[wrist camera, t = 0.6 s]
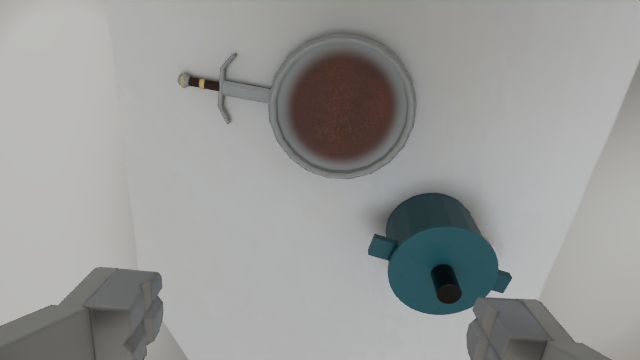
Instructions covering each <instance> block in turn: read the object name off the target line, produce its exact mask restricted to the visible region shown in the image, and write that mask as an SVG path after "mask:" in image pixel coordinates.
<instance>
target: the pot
mask: <svg viewBox="0 0 640 360" xmlns="http://www.w3.org/2000/svg"><path fill="white" fill-rule="evenodd" d="M441 224H450V225H458V226H462V227H466V228H468V229H471V230H473V231H475V232H477V233H478V234H480V235H481V233H480V231H479V229H478V228H477V226H476V224H475V222H474V220H473V218H472V217H471V215H470V213H469V211H468V210H467V209H466V208H465V207H464V206H463V205H462V204H461V203H460V202H459V201H457V200H456V199H454V198H452V197H449V196H446V195H442V194H436V193H428V194H421V195H417V196H414V197H412V198H410V199H408V200H406V201H404V202H403V203H401V204H400V205H399V206H398V207H397V208H396V209H395V210H394V211H393V213H392V214H391V216H390V218H389V220H388V223H387V227H386V237H384V236H380V235H377V234H374V237H373V239H372V242H371V244H370V247H369V249H368V255H371V256H375V257H378V258H382V259H385V260H390V257H391V255H392V253H393V251H394V250H395V248H396V247H397V246H398V244H399V243H400V242H401V241H402V240H404V239H405V238H406V237H407V236H409V235H410V234H412V233H414V232H416V231H418V230H420V229H423V228H425V227H429V226H433V225H441ZM481 236H482V235H481ZM511 279H512V277H511V275H510V273H508V272H504V271H501V270H498V275H497V279H496V282H495V284H494V286H493V288H492V289H491V290H493V291H497V292H500V293H503V292H504V290H505V289H506V287H507V286H508V284H509V282H510V281H511Z"/></svg>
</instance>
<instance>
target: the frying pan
mask: <svg viewBox="0 0 640 360" xmlns="http://www.w3.org/2000/svg"><path fill="white" fill-rule="evenodd" d="M235 57H236V53H235V54H232V55H231V56H230V58H229V59H228V60H227V61H226V62H225V63H224V64H223V65H222V67H221V68H220V80H219V82H214V81H208V80H205V79H198V78H192V77H190V76H189V75H188V74H186V73H184V74H181V75H180V76H179V77H178V83H179V84H180V85H181V86H182V87H183V88H185V87H188V86H194V87H199V88H201V89H210V90H216V91H219V96H218V108H219V110H220V111H221V113H222V115H223V117H224V119H225V121H226V123H227V124H229V123H230V122H231V121H230V119H229V117H228V115H227V113H226V111H225V109H224V107H223V97H224V95H227V96H232V97H238V98H243V99H248V100H254V101H259V102H264V103H269V121H270V124H271V126H272V129H273V132H274V134H275V137H276V139H277V142H278V143H279V144H280V146H281V147H282V148H283V149H284V151H285V152H286V153H287V155H288V156H289V157H290V159H292V160H293V161H295V162H296V163H298V164H299V165H300V166H302V167H303V168H305V169H306V170H307V171H310V172H312V173H315V174H318V175H321V176H324V177H327V178H341V179H351V178H355V177H359V176H363V175H367V174H371V173H373V172H374V171H376V170H378V169H379V168H381V167H383V166H384V165H386V164H388V163H389V162H390V161H391V160H392V159H393V158H394V157H395V156H396V155H397V154H398V152H399V151H400V150H401V149H402V148H403V147H404V146H405V144H406V141H407V139H408V137H409V135H410V133H411V130H412V128H413V126H414V119H415V110H416V98H415V94H414V89H413V84H412V80H411V78H410V76H409V75H408V73H407V71H406V70H405V68H404V66H403V65H402V63H401V61H400V60H399V58H397V57H396V56H395V55H394V54H393V53H391V52H390V51H389V50H388V49H387V48H385V47H384V46H383V45H382V44H380V43H379V42H376V41H373V40H370V39H368V38H365V37H362V36H360V35H357V34H329V35H326V36H323V37H320V38H317V39H314V40H311V41H308V42H306V43H305V44H304V45H302V46H301V47H300V48H298V49H297V50H296V51H294V52H293V53H292V54H290V55H289V56H288V57H287V59H286V60H285V62H284V63H283V64H282V66H281V67H280V69H279V70H278V72H277V73H276V75H275V77H274V80H273V84H272V87H271V89H267V88H261V87H256V86H251V85H245V84H240V83H235V82H229V81H225V68H226V67H227V66H228V64H229V63H230V62H231V61H232V60H233V59H234V58H235Z"/></svg>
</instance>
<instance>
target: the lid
mask: <svg viewBox="0 0 640 360" xmlns="http://www.w3.org/2000/svg"><path fill="white" fill-rule="evenodd" d="M497 275H498V261H497V257H496V254H495V252H494V250H493V248H492V247H491V245H490V244H489V243H488V241H487V240H486V239H485V238H484V237H483V236H481V235H480V234H478V233H477V232H475V231H473V230H471V229H468V228H466V227H462V226H458V225H450V224H441V225H433V226H429V227H425V228H423V229H420V230H418V231H416V232H414V233H412V234H410V235H409V236H407V237H406V238H405V239H404V240H402V241H401V242H400V243H399V244H398V246H397V247H396V248H395V250H394V251H393V253H392V255H391V257H390V260H389V264H388V278H389V283H390V286H391V288H392V290H393V292H394V293H395V295H396V296H397V297H398V298H399V300H400V301H402V302H403V303H404V304H405V305H407V306H409V307H410V308H412V309H414V310H417V311H420V312H423V313H427V314H434V315H445V314H452V313H457V312H461V311H463V310H466V309H468V308H470V307H472V306H474V304H475V301H476V300H477V298H478V297H486V296H487V295H488V293H489V292H490V291H491V289H492V288H493V286H494V284H495V282H496V279H497Z"/></svg>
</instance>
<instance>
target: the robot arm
mask: <svg viewBox="0 0 640 360" xmlns="http://www.w3.org/2000/svg"><path fill="white" fill-rule="evenodd" d="M161 289H162V278H161V275H160V274H159V272H150V271H139V270H129V269H118V268H105V267H99V268H95V269H94V270H93V271H92V272H91V273H90V274H89V275H88V276H87V277H86V278H85V279H84V280H83V281H82V282H81V283H80V284H79V285H78V286H77V287H76V288H75V289H74V290H73V291H72V292H71V293H70V294H69V295H68V296H67V297H66V298H65V299H64V300H63V301H62V302H61V303H60V304H59V305H50V306H48V307H45V308H43V309H40V310H38V311H35V312H33V313H31V314H28V315H26V316H23V317H21V318H18V319H16V320H14V321H11V322H9V323H7V324H4V325H2V326H0V360H144V358H145V357H146V355H147V349H146V345H148V344H149V343H151V342H153V341H154V340H155V338H156V336H157V334H158V333H159V330H160V326H161V323H162V318H163V302H162V301H161V299H160V298H159V297H158V296H157V295H158V293H159V292H160V290H161ZM473 312H474V314H475V316H476V317H477V318H476V319H475V320H474V321H473V322H471V323H470V324H469V327H468V332H467V349H468V353H469V356H470V358H471V360H611V359H609V358H607V357H606V356H604V355H602V354H600V353H599V352H597V351H595V350H593V349H591V348H590V347H588V346H586V345H585V344H583V343H576V342H575V341H574V340H573V339H572V338H571V336H570V335H569V334H568V333H567V332H566V331H565V329H564V328H563V327H562V326H561V325H560V324H559V322H558V321H557V320H556V319H555V318H554V317H553V315H552V314H551V313H550V312H549V311H548V310H547V308H546V307H545V306H544V305H543V304H542V303H541V302H540V301H538V300H534V299H506V298H488V297H478V298H477V300H476V301H475V304H474V307H473Z"/></svg>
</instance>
